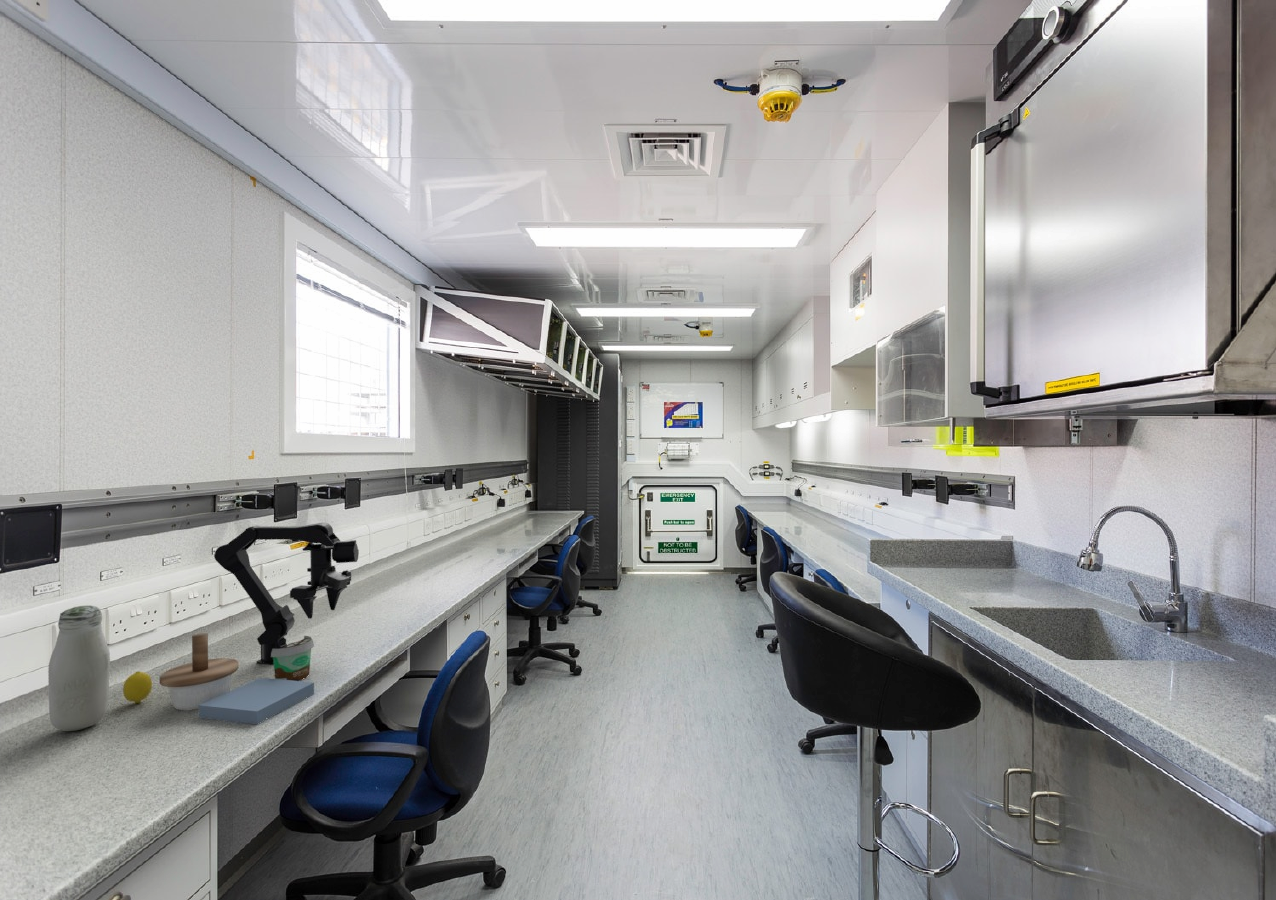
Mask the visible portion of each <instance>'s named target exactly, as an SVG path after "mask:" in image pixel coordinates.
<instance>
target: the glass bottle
mask: <svg viewBox="0 0 1276 900" xmlns="http://www.w3.org/2000/svg"><path fill="white" fill-rule="evenodd" d="M102 621H103V613H102V611H101V609H100V608H99V607H98V606H95V605H79V606H74V607H71V608H68V609H66V610H64V611H62V612H60V614H59V618H58V622H57V624H58V625H57V626H58V630H59V631H58V633H57V637H56V642H55V646H54V648H53V650H52V652H51V655H50V658H49V663H48V668H47V669H48V671H47V673H48V680H47V681H48V710H49V713H48V714H49V719H50V720H49V721H50V723H51V726H53V727H54V728H55V729H57V730H59V731H64V732H74V731H79V730H83V729H87V728H89V727H91V726H94V725H96V724H97V723H99V722H100V721H102V719H103V718H104V716H105V715H106V713H107V711H108V709H109V701H110V670H111V669H110V666H111V656H110V648H109V646H108V643H107V640H106V636H105V635H104V633H103V627H102V626H103V625H102Z"/></svg>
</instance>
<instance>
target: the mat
mask: <svg viewBox="0 0 1276 900" xmlns="http://www.w3.org/2000/svg"><path fill="white" fill-rule="evenodd" d="M309 695H311V696H313V695H315V682H313V681H303V680H300V681H293V680H282V679H275V678H270V677H268V678H267V677H258V678H256V679H254V680H251V681H249V682H247V683H245V684H242V685H240V686H238V687H236V688H233V689H232V690H229V692H227V693H225V694H222V695H220V696H218V697H216V698H213V699H211V700H209V701H207V702H204V703H202V704H200V705H199V709H198V718H199V719H206V718H208V720H215V719H218V720H217V721H223V720H225V721H224V722H232V721H233V723H234V721H235V723H241V722H243V723H242V724H250V723H253V725H259V724H260V722H261V723H262V721H263V720H265V719H266V718H268V719H270V718H272V717H274V716H275V715H274V714H276V713H278V714H279V712H280V713H281V712H283V711H285V710H287V709H289V708H290V707H292V705H293V706H295V705H296V704H298V703H300V702H302V701H303V699H304V700H306V699H307V698H306V697H308V696H309ZM309 697H310V696H309ZM309 697H308V698H309ZM305 698H306V699H305ZM299 701H300V702H299ZM297 702H298V703H297ZM288 707H289V708H288ZM286 708H287V709H286ZM273 715H274V716H273ZM276 715H277V714H276ZM271 716H272V717H271ZM269 717H270V718H269ZM266 720H267V719H266ZM266 720H265V721H266ZM263 722H264V721H263ZM258 723H259V724H258Z"/></svg>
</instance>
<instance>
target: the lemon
mask: <svg viewBox="0 0 1276 900" xmlns="http://www.w3.org/2000/svg"><path fill="white" fill-rule="evenodd" d="M152 689H153V681H152V677H151V676H150V675H149V674H148V673H146V672H141V671H139V670H138V671H136V672H134V673H132V674H131V675H130V676H128V677H127V679H125V681H124V683H123V688H122V692H123V696H124V698H125V699H126V700H127V701H129V702H134V703H135V704H139V703H141V701H142V700H144V699H145V698H147V697H148V696H149V695H150V693H151V691H152Z"/></svg>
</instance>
